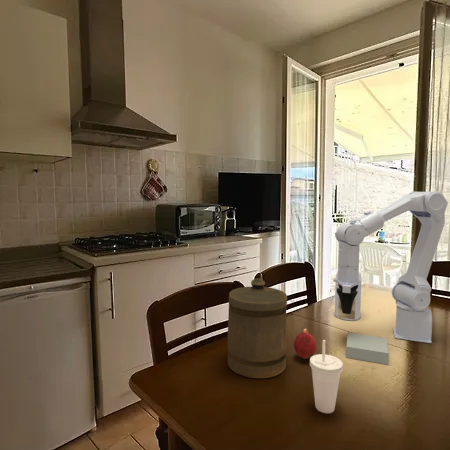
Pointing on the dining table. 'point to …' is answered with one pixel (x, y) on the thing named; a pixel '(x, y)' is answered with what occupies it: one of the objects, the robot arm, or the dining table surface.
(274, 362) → the wooden container
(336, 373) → the smoothie
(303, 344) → the onion
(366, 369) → the dining table surface
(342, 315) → the block
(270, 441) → the dining table surface
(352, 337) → the base
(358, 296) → the soap bottle
